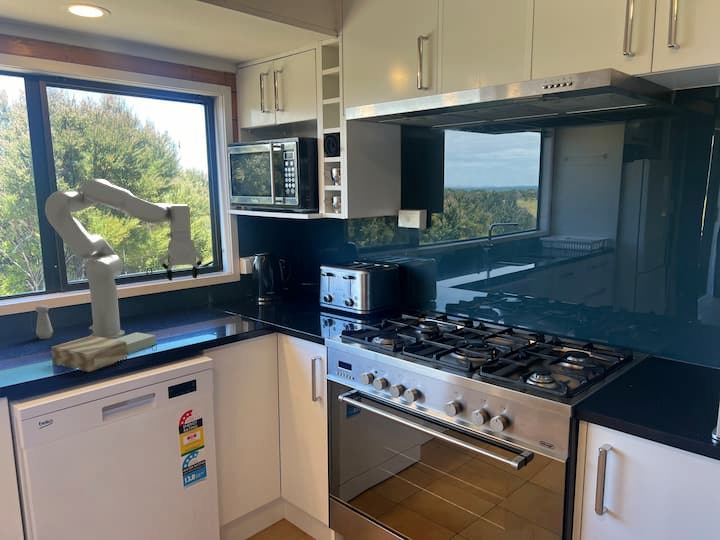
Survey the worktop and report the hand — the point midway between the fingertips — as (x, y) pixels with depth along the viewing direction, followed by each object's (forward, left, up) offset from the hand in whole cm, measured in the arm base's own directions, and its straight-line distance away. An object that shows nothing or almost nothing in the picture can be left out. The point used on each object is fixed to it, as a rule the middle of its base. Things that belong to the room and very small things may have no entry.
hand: (182, 278), depth 212 cm
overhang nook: (-5, -39, -23) cm, 46 cm away
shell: (-5, -22, -23) cm, 32 cm away
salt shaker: (-47, -28, -23) cm, 59 cm away
